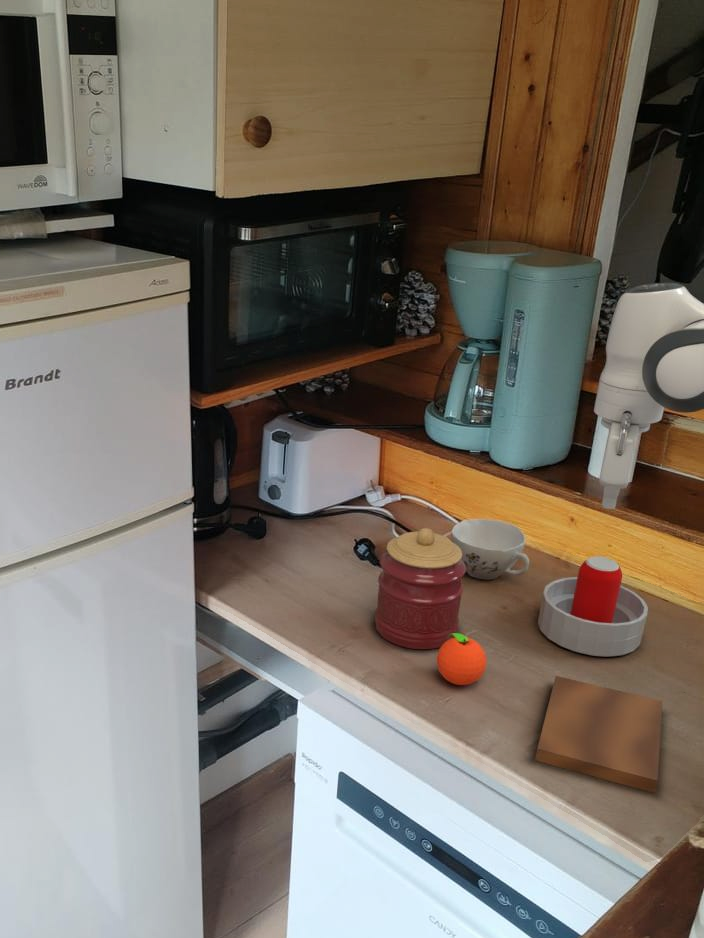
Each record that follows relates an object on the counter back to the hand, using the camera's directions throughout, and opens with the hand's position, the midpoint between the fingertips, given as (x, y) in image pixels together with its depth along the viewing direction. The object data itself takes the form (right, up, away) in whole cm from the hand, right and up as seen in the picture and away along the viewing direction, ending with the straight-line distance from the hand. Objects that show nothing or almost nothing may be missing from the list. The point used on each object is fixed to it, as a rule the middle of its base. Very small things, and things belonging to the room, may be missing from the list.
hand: (610, 495), depth 131 cm
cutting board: (-6, -32, -11) cm, 35 cm away
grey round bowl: (+2, -21, +12) cm, 25 cm away
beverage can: (+2, -21, +12) cm, 24 cm away
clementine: (-22, -27, +1) cm, 35 cm away
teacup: (-9, -13, +30) cm, 34 cm away
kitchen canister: (-26, -21, +13) cm, 36 cm away
